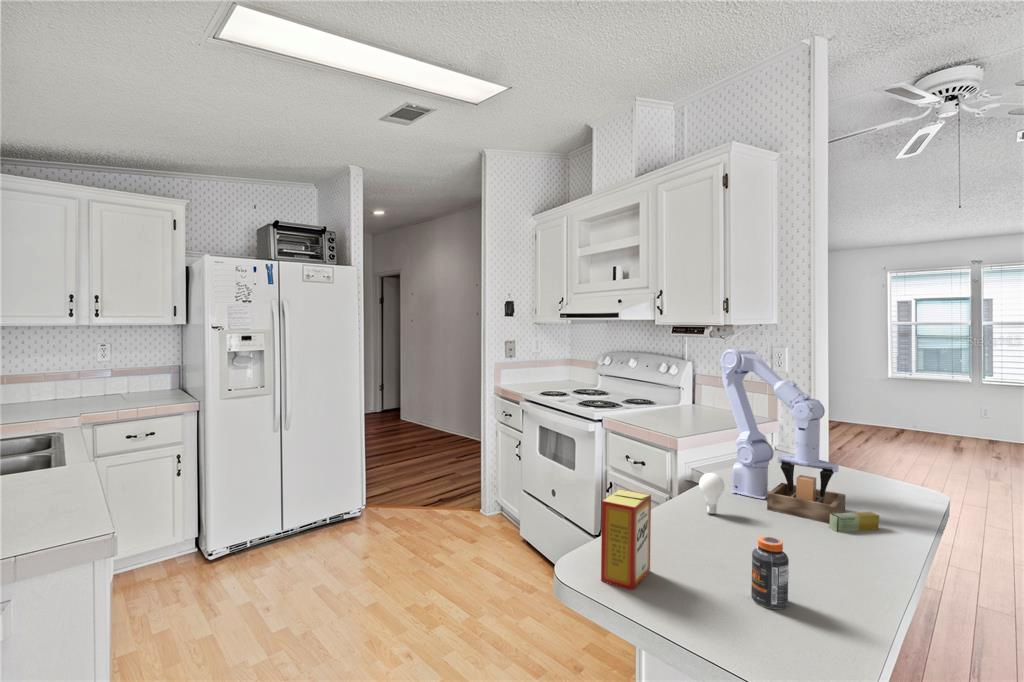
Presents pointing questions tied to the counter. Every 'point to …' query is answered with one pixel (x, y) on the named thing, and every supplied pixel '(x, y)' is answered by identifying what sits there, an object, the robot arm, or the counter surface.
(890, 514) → the counter surface
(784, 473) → the robot arm
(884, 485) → the counter surface
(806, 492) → the peach plain square-edged block
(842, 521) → the medication box
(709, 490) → the lightbulb
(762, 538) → the pill bottle
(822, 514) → the walled box
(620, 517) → the baking soda box
